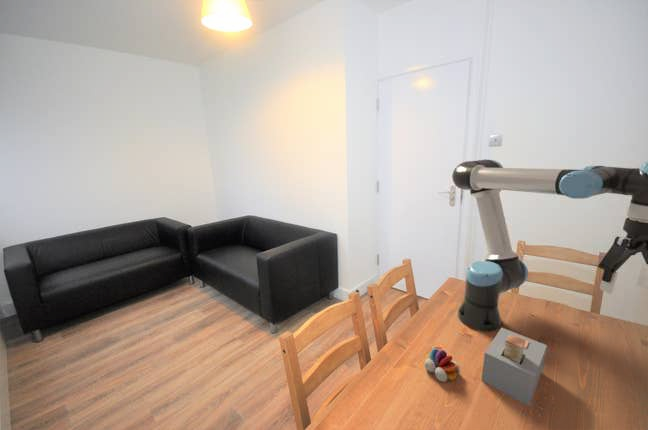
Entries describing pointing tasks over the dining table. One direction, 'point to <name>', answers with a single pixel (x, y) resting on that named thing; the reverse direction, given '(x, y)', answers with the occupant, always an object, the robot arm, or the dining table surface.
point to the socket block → (514, 367)
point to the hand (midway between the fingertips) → (624, 288)
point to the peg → (514, 348)
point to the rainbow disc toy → (442, 365)
